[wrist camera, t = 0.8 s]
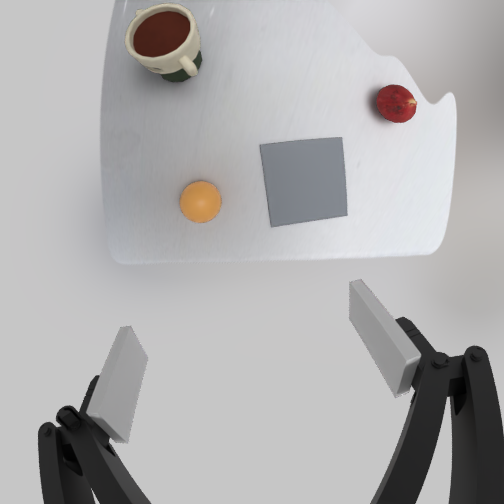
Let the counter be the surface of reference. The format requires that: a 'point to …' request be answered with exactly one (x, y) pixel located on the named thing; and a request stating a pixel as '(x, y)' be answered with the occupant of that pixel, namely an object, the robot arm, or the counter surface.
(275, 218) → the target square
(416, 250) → the counter surface
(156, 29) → the character mug
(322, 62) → the counter surface
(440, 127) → the counter surface
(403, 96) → the onion
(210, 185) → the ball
